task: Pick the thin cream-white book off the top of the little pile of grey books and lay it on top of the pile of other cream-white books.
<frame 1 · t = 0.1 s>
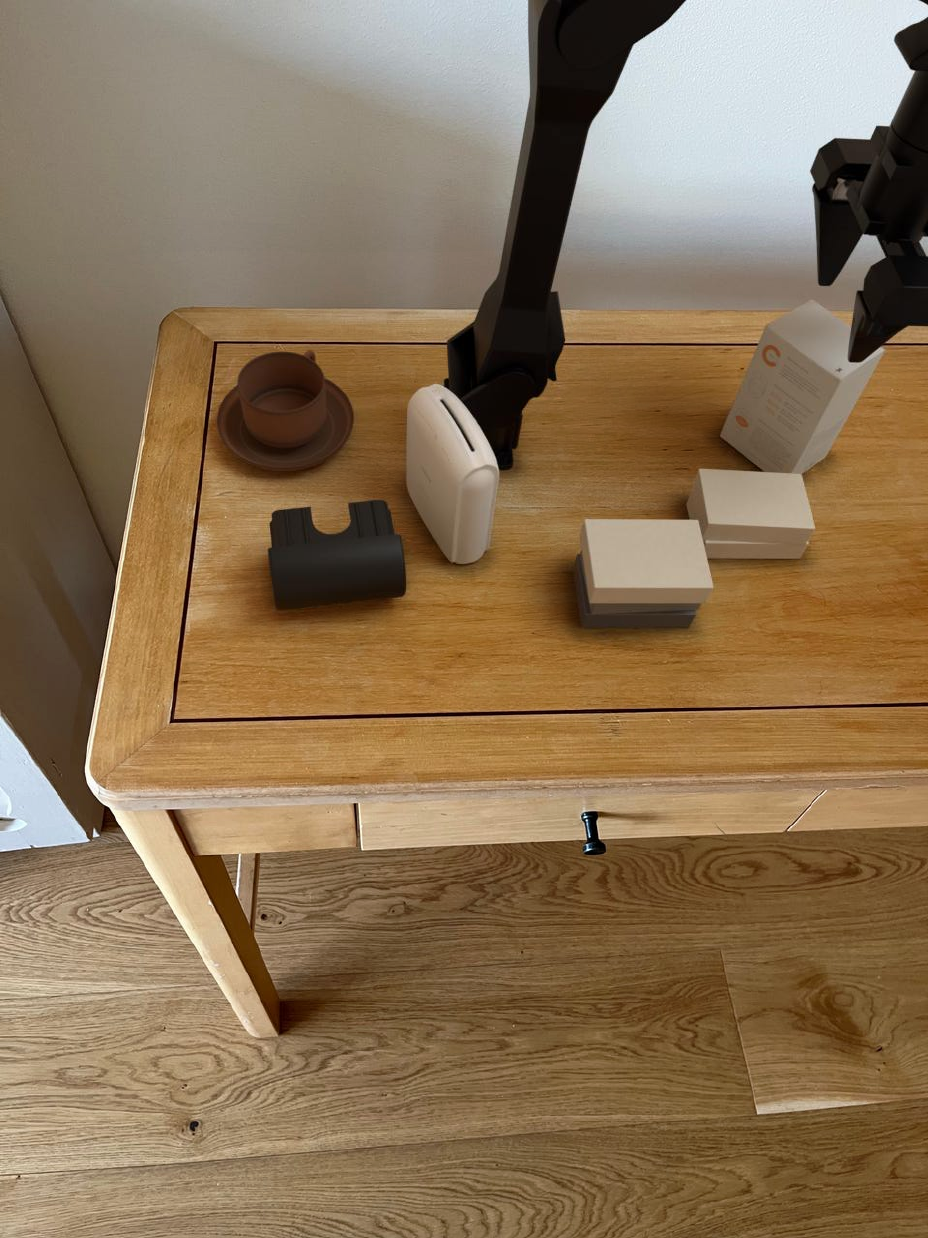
hand: (838, 321, 75), 15 cm above the table, tool pointing down, fingers open, 9 cm apart
small box: (770, 449, 87), on the table
grey books: (630, 597, 77), on the table
white book: (641, 569, 73), point 4 cm above the table, touching grey books
cup and saucer: (287, 433, 84), on the table
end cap: (338, 588, 75), on the table
photo printer: (445, 521, 80), on the table
white books: (741, 531, 81), on the table
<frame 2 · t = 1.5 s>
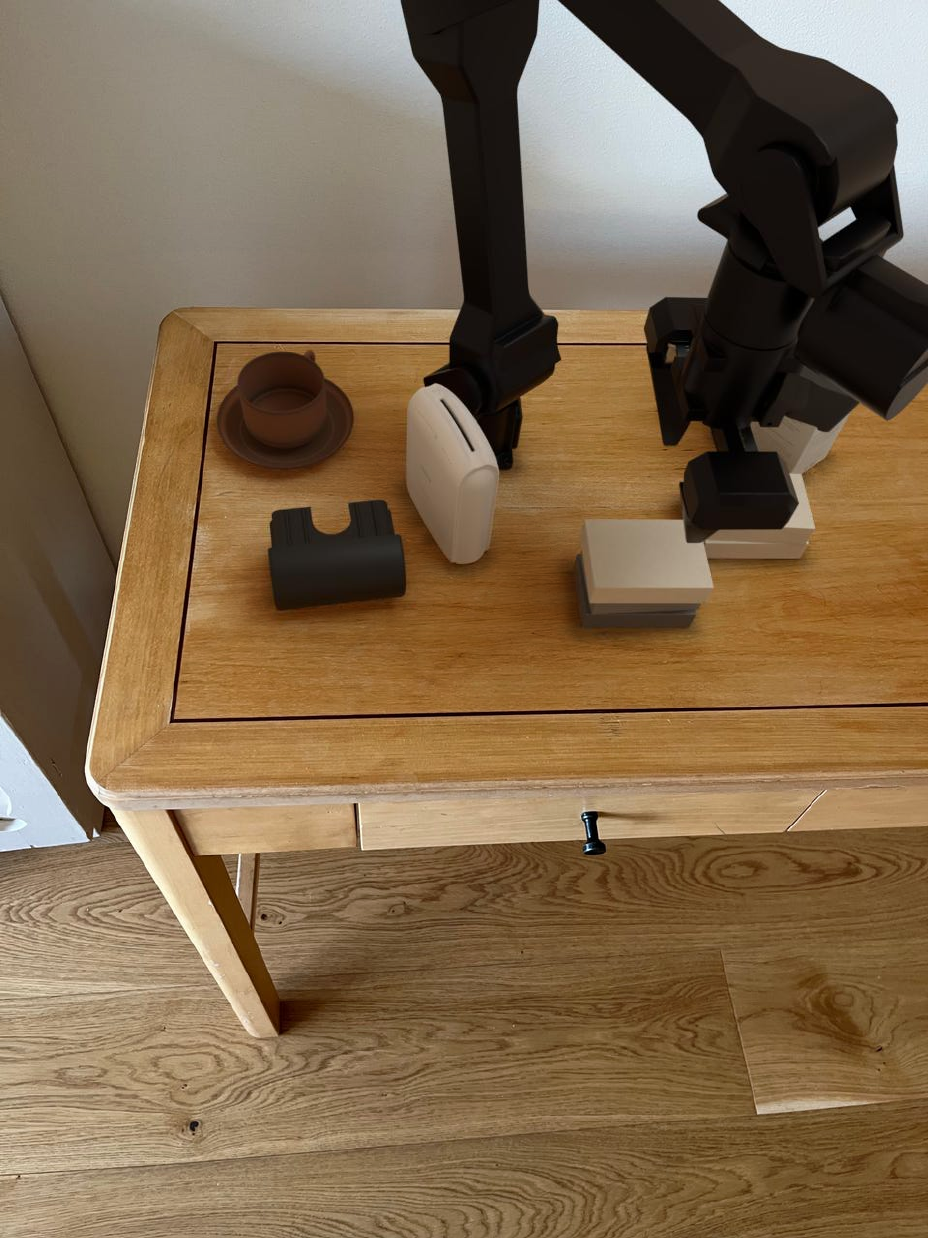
hand: (681, 491, 68), 12 cm above the table, tool pointing down, fingers open, 9 cm apart
nothing on the table moved.
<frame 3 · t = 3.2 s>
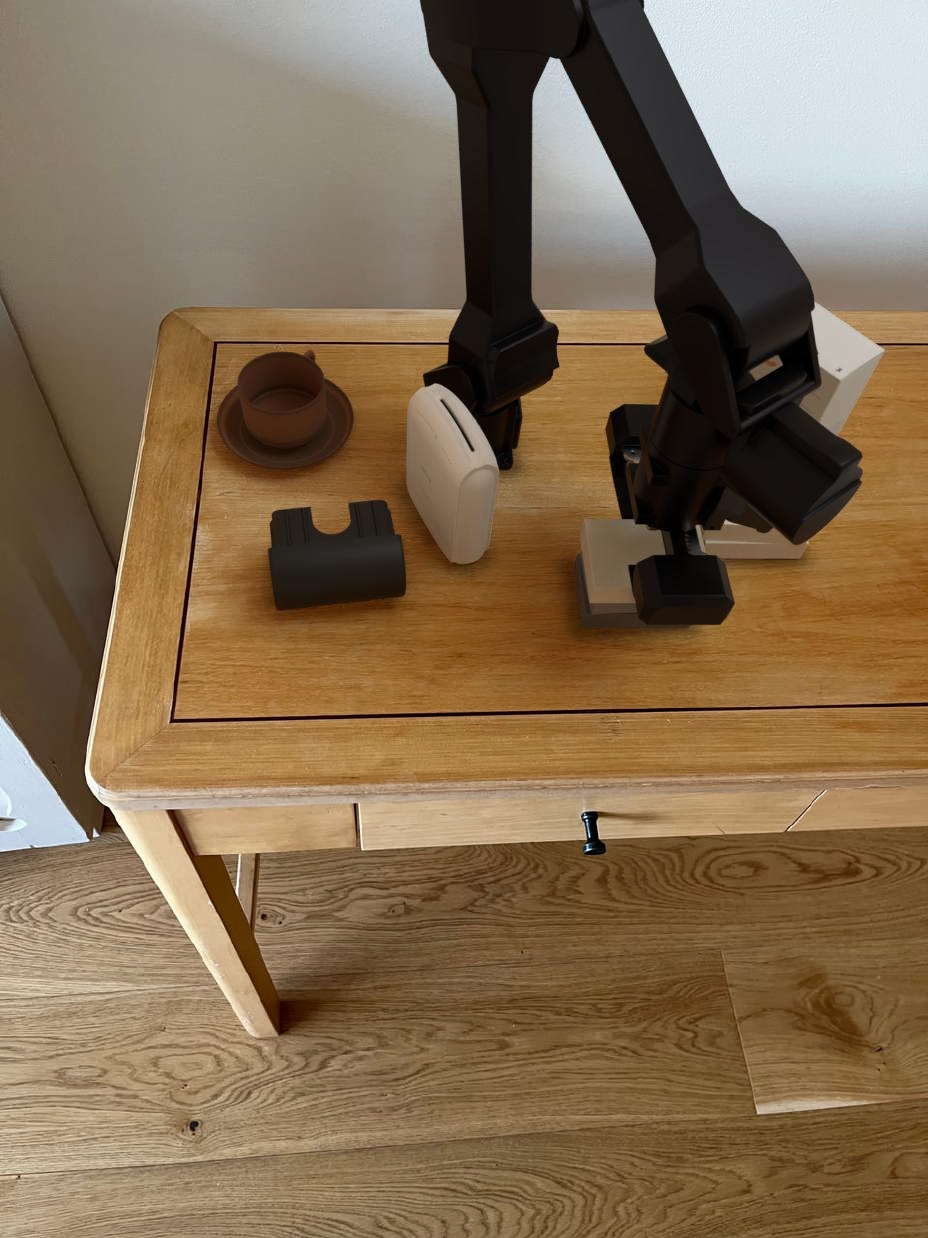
hand: (639, 575, 74), 3 cm above the table, tool pointing down, fingers closed on white book, 6 cm apart
white book: (641, 568, 73), point 4 cm above the table, touching grey books, gripper
everything else where it was.
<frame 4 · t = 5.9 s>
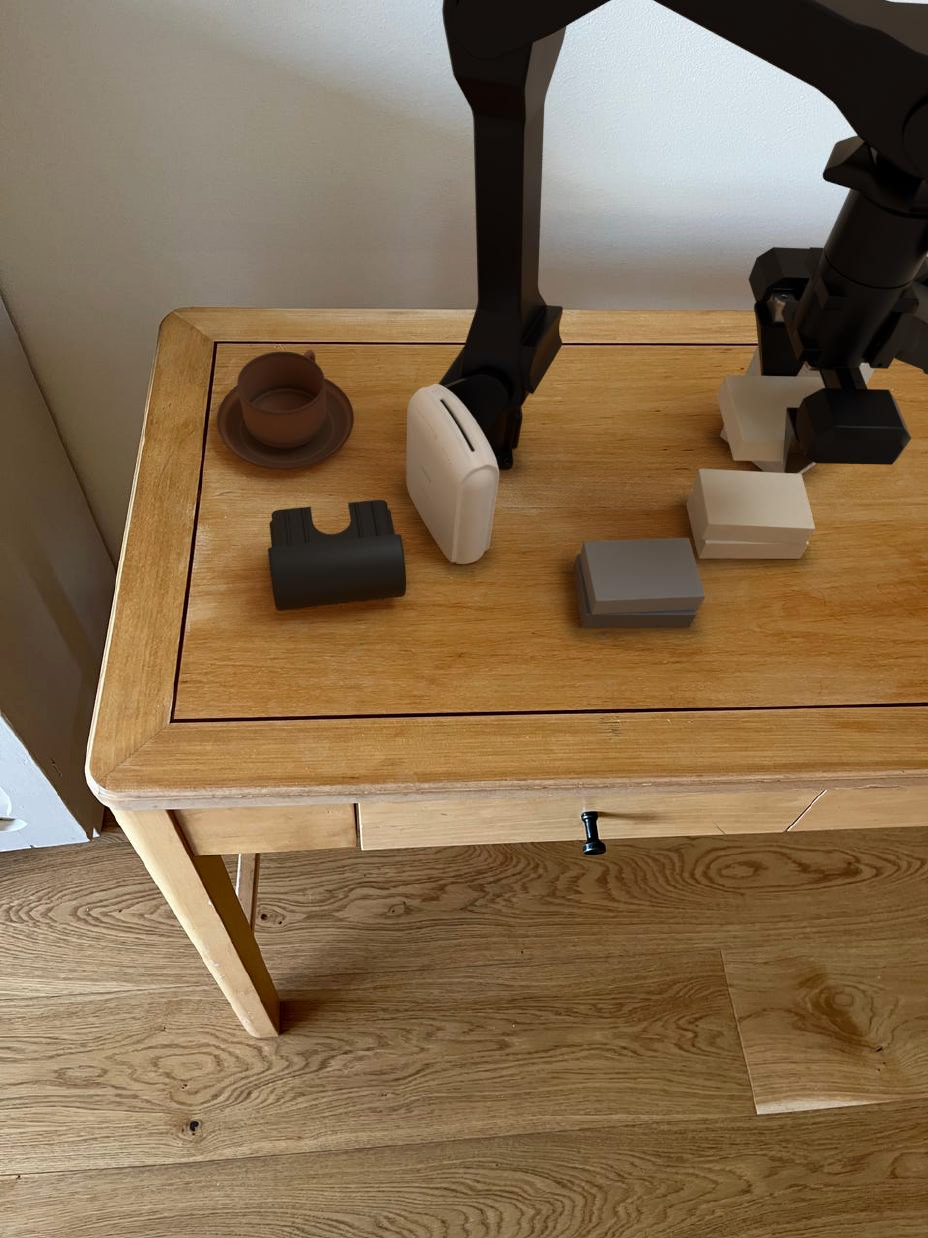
hand: (780, 437, 70), 13 cm above the table, tool pointing down, fingers closed on white book, 6 cm apart
white book: (784, 428, 69), point 14 cm above the table, touching gripper
everything else where it was.
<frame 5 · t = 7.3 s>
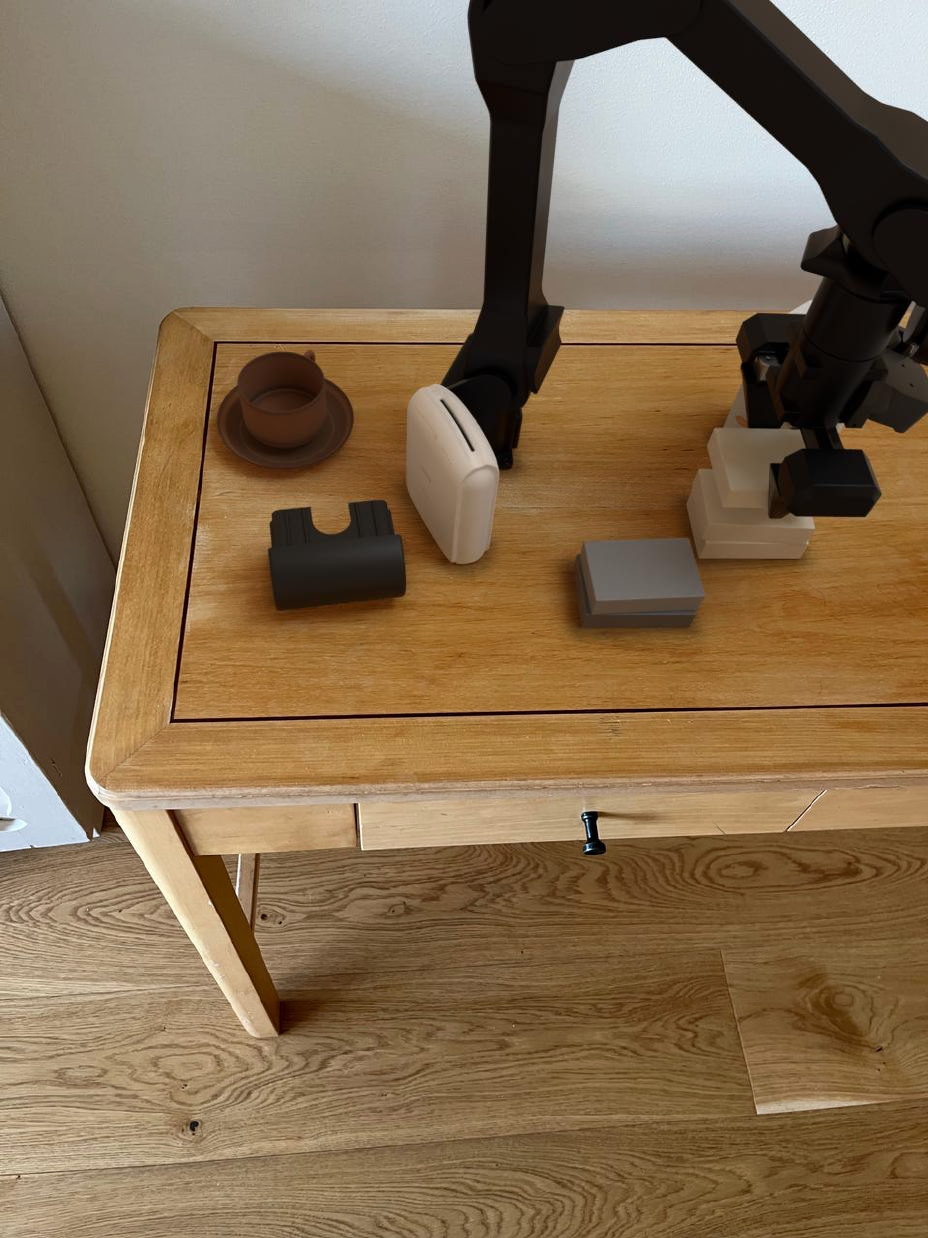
hand: (765, 484, 76), 6 cm above the table, tool pointing down, fingers closed on white book, 6 cm apart
white book: (769, 477, 75), point 7 cm above the table, touching gripper
everything else where it was.
when the fingers open (3 cm above the table, at t = 8.7 s): white book stays where it is, resting on white books.
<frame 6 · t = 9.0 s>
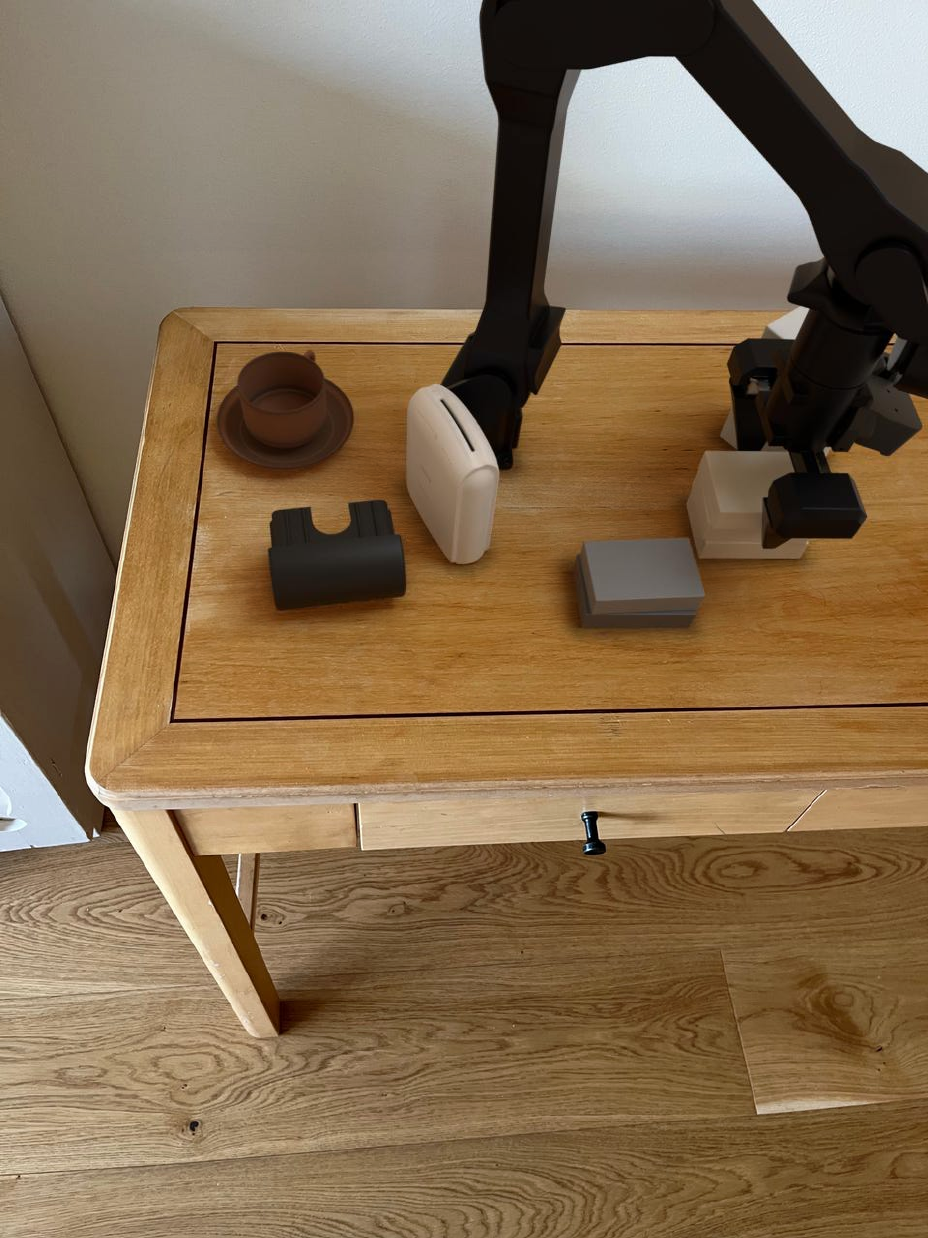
hand: (756, 503, 78), 4 cm above the table, tool pointing down, fingers open, 9 cm apart
small box: (770, 449, 87), on the table, touching gripper
white book: (758, 498, 78), point 4 cm above the table, touching white books
everything else where it was.
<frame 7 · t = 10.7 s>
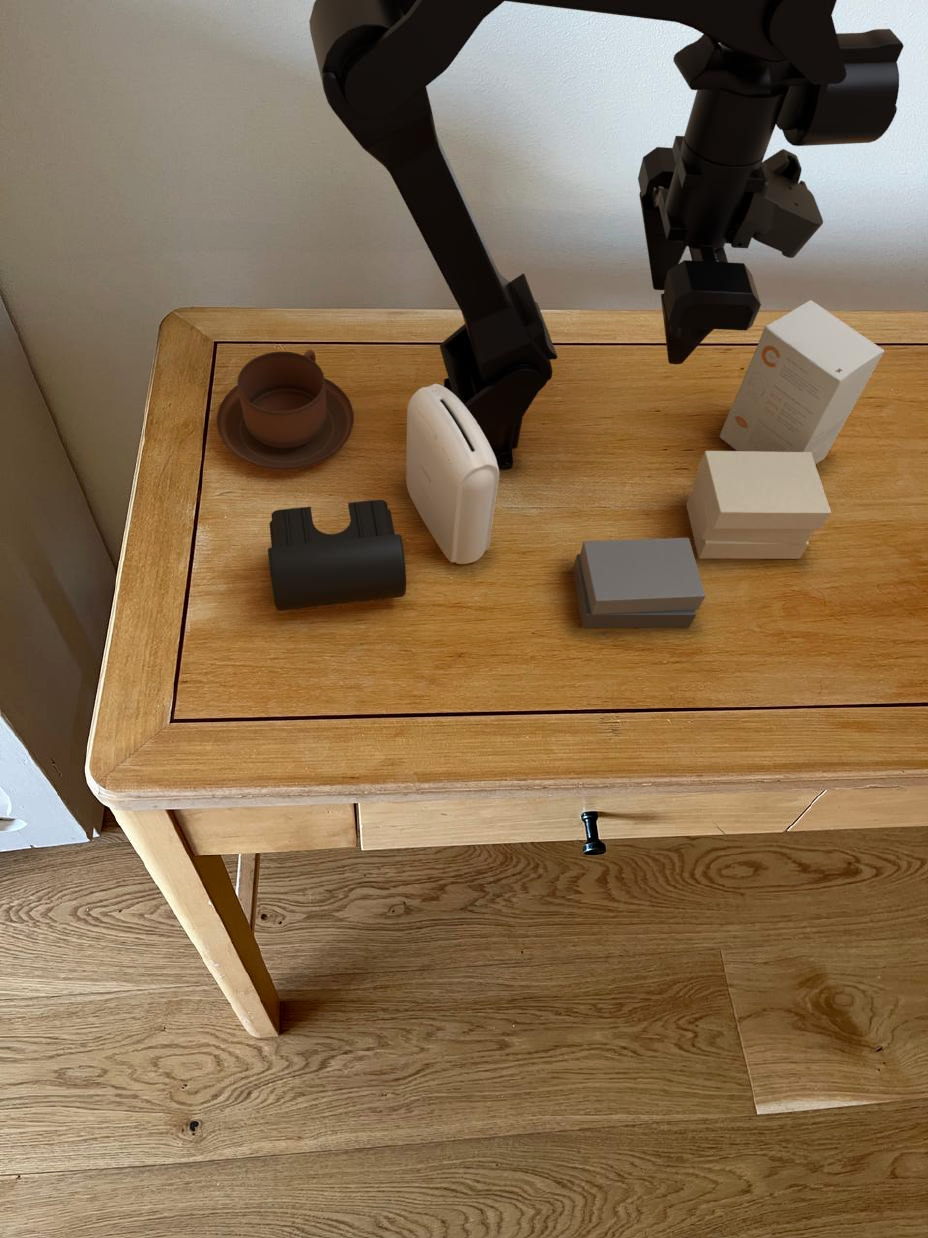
hand: (666, 324, 77), 12 cm above the table, tool pointing down, fingers open, 9 cm apart
small box: (770, 449, 87), on the table
everything else where it was.
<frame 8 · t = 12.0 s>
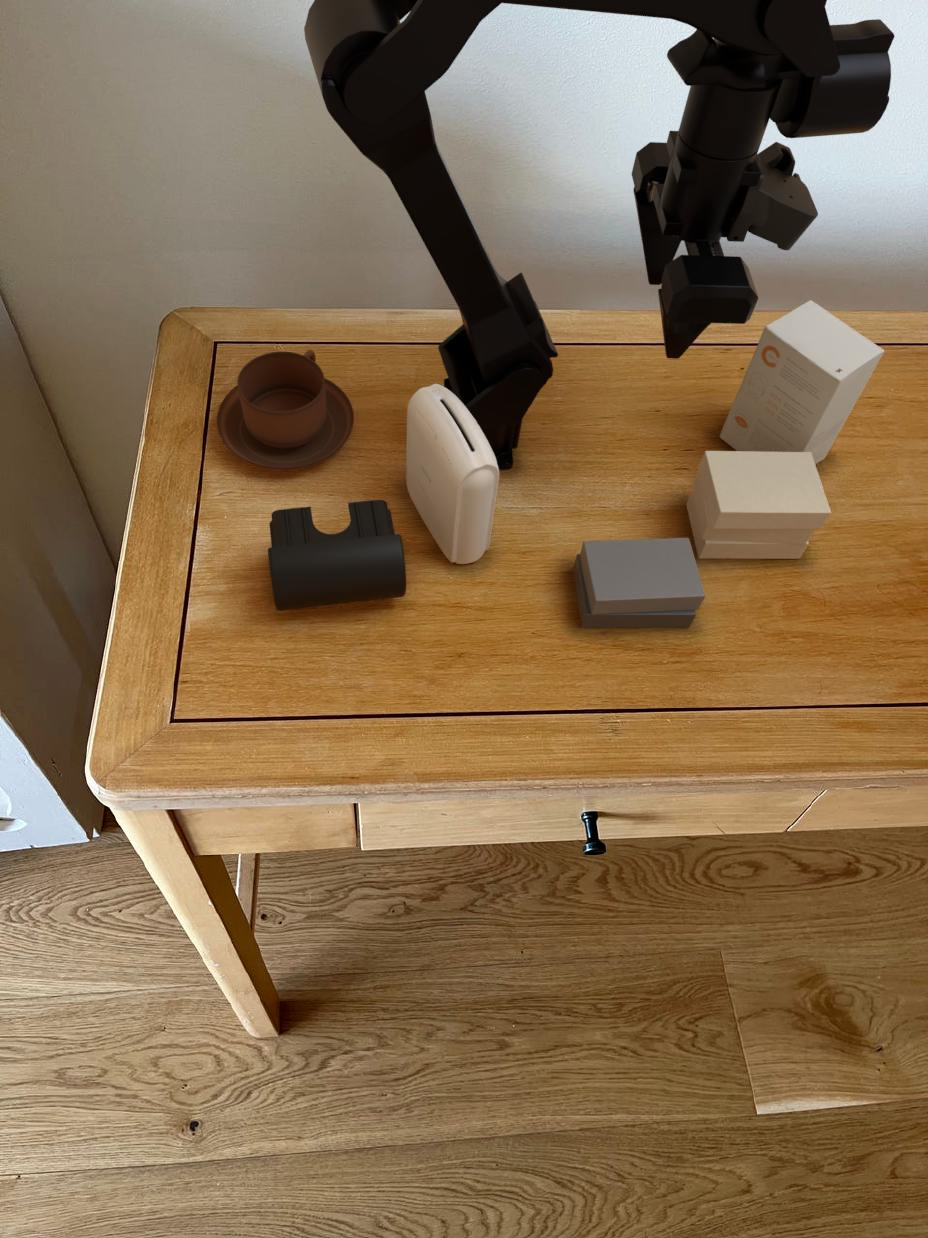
hand: (663, 319, 78), 12 cm above the table, tool pointing down, fingers open, 9 cm apart
nothing on the table moved.
at the end: white book 0.0 cm off-centre on the white books, point 4.4 cm above the white books's base; white book tilted 0°; the gripper is holding nothing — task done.
